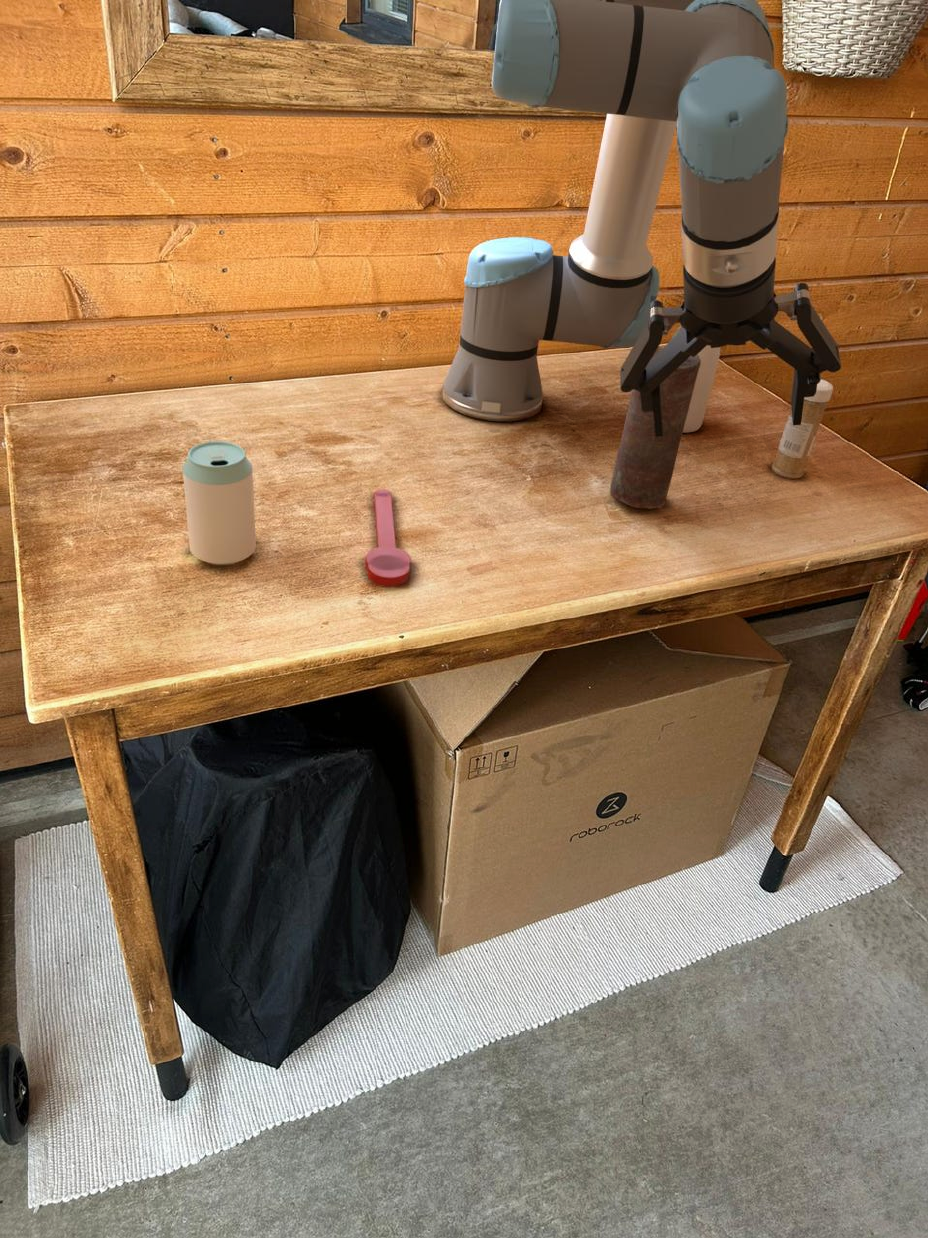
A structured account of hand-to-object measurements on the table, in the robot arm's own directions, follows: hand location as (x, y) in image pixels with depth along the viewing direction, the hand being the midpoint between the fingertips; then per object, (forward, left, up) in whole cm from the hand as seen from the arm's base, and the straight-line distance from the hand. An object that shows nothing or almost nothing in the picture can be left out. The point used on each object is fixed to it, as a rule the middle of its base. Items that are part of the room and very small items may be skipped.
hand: (726, 420), depth 96 cm
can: (-3, -52, -20) cm, 56 cm away
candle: (-17, -1, -20) cm, 26 cm away
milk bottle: (-42, +12, -20) cm, 48 cm away
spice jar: (-27, +24, -20) cm, 41 cm away
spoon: (-6, -34, -19) cm, 40 cm away
